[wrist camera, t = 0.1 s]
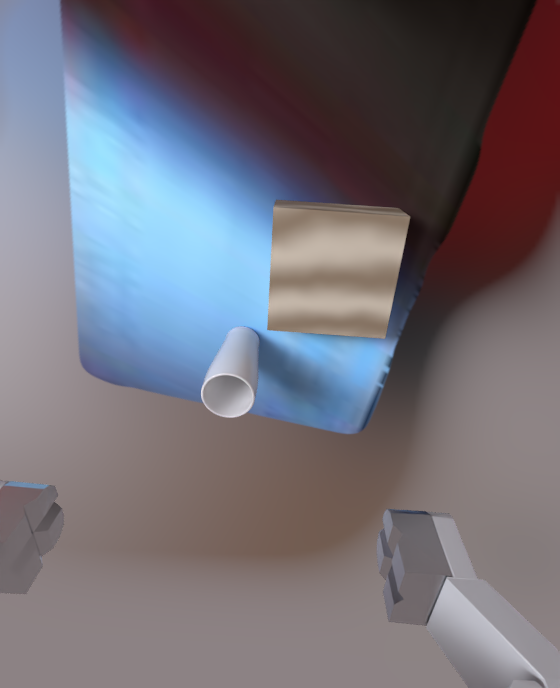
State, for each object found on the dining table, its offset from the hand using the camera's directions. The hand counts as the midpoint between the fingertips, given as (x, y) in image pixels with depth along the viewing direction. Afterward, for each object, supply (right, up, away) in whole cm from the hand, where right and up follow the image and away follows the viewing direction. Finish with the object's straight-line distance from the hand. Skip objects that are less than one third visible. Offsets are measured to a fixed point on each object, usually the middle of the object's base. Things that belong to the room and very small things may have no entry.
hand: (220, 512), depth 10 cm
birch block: (+8, +15, +46) cm, 49 cm away
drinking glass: (-4, +5, +52) cm, 52 cm away
